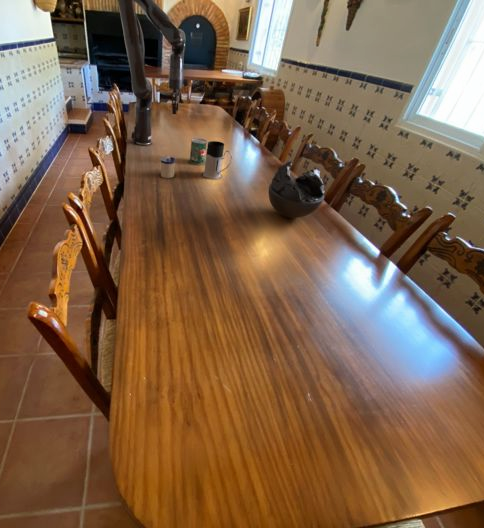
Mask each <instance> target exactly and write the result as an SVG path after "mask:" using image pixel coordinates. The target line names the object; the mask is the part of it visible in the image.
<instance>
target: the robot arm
mask: <svg viewBox="0 0 484 528" xmlns="http://www.w3.org/2000/svg"><path fill="white" fill-rule="evenodd" d="M134 3H135V4H137V5H138V7H139V8H140V9H141V10H142V12H143V13H144V15H145V16H146V18H147V19H148V20H149V22H150V23H151V24H152V26H154V27H155V29H157V30H158V32H160V33H161V34H162V36H163V38H164V39H165V40H166V41H167V42H168V44H169V45H171V53H170V55H169V68H168V69H169V70H168V88H169V89H171V90H172V92H171V104H170V105H171V106H172V107H171V109H172V111H171V112H172V115H177V112H178V111H179V104H180V99H181V98H180V96H181V92H180V90H182V89H184V76H185V75H184V74H185V73H184V56H185V50H186V34H185V31H184V30H183V29H181V28H178V27H177V26H176V25H175V24H174V23H173V22H172V20H171V18H170V16H169V15H168V14H167V13H166V11H164V10H163V8H161V7H160V6H159V5H158V3H157V2H156V1H155V0H117V5H118V8H119V14H120V20H121V26H122V31H123V39H124V45H125V49H126V55H127V60H128V65H129V69H130V78H131V79H130V80H131V90H132V93H133V95H134V97H135V98H136V99H135V104H134V126H133V131H132V132H131V136H130V137H131V139H132V140H133V141H134V144H136V145H137V146H138V145H139V146H149V145H152V106H153V85H152V82H151V80H149V79H148V78H146V72H145V41H144V34H143V30H142V27H141V23H140V20H139V18H138V15H137V12H136V9H135V4H134Z"/></svg>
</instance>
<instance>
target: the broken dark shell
mask: <svg viewBox="0 0 484 528" xmlns="http://www.w3.org/2000/svg"><path fill="white" fill-rule="evenodd" d="M292 165H293V161H287V162H285V164H282V165H280V166H278V167H277V171H276V173H275V174H274V175H273V177H272V179H271V183H270V184H269V186H268V193H267V194H268V199H269V203H270V205H271V206H272V208H273V209H274V211H276V212H277V213H278V214H280V216H284V217H286V218H290V219H298V218H303V217H306V216H309V215H310V214H312V213H314V212H315V211H316V210H317V209H318V208H319V207H320V206H321V205H322V203H323V202H324V199H325V189H324V188H325V186H324V182H323V179H322V178H321V177H320V175H321V171H320V169H318V168H313V169H310V170H307V171H305V172H302V173H301V175H299V176H297V177H295V178H293V177H292V176H291V172H290V168H291V167H292Z"/></svg>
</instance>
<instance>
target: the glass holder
mask: <svg viewBox="0 0 484 528" xmlns="http://www.w3.org/2000/svg"><path fill="white" fill-rule="evenodd" d="M224 148H225V143H224V142H222V141H219V140H218V141H216V140H211V141H207V146H206V152H205V161H204V170H203V174H202V177H204V178H206V179H210V180H218V179H220V178H222V176H221V172H224V171H225V170H226V169H228V168H229V167H230V165H231V164H232V161H233V153H232V151H231V150H226V151H225V152H224V150H225V149H224ZM227 153H229V154H230V160H229V163H228V165H227V166H226V167H225V168H223V169H222V165H223V160H224V159H225V158H226V154H227Z"/></svg>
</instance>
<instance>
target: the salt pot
mask: <svg viewBox="0 0 484 528" xmlns="http://www.w3.org/2000/svg"><path fill="white" fill-rule="evenodd" d="M175 167H176V158H175V157H173V156H170V155H167V156H162V157H161V158H160V176H161V178H164V179H171V178H174V177H175V169H176V168H175Z"/></svg>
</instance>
